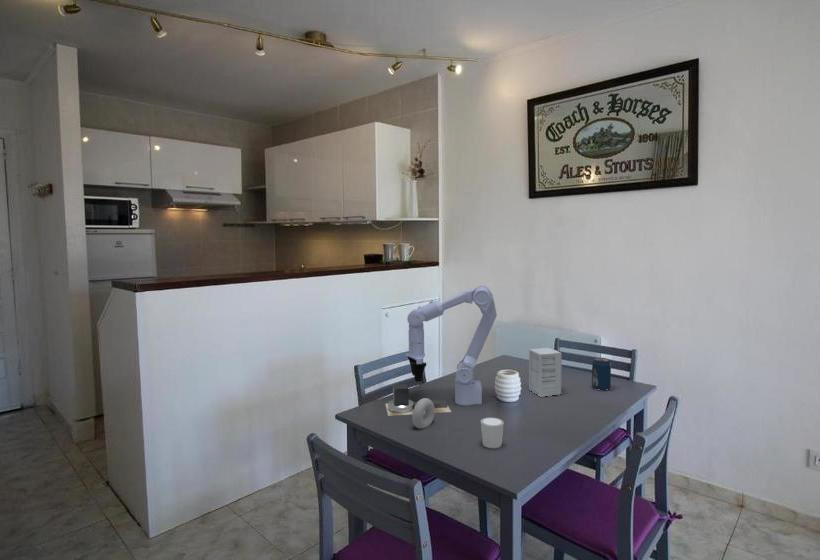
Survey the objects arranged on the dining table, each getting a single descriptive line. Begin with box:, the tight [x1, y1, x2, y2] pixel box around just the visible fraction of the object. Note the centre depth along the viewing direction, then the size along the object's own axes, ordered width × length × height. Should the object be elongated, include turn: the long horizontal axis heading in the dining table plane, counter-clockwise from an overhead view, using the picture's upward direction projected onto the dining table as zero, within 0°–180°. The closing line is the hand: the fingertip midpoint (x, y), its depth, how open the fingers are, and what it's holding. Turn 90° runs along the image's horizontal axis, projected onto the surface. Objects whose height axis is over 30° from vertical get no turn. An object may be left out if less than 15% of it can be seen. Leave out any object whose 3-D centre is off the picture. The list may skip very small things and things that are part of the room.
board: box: [384, 402, 452, 417], centre depth 169 cm, size 22×12×1 cm, turn 97°
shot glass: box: [480, 416, 505, 449], centre depth 141 cm, size 7×7×7 cm
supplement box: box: [528, 347, 563, 398], centre depth 186 cm, size 10×9×17 cm
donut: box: [411, 397, 436, 430], centre depth 153 cm, size 10×4×10 cm, turn 143°
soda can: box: [591, 357, 612, 390], centre depth 190 cm, size 7×7×12 cm
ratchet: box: [387, 399, 449, 413], centre depth 169 cm, size 21×9×4 cm, turn 97°
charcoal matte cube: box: [392, 383, 410, 406], centre depth 168 cm, size 5×5×6 cm
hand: (416, 378), depth 176 cm, fingers open, 7 cm apart
